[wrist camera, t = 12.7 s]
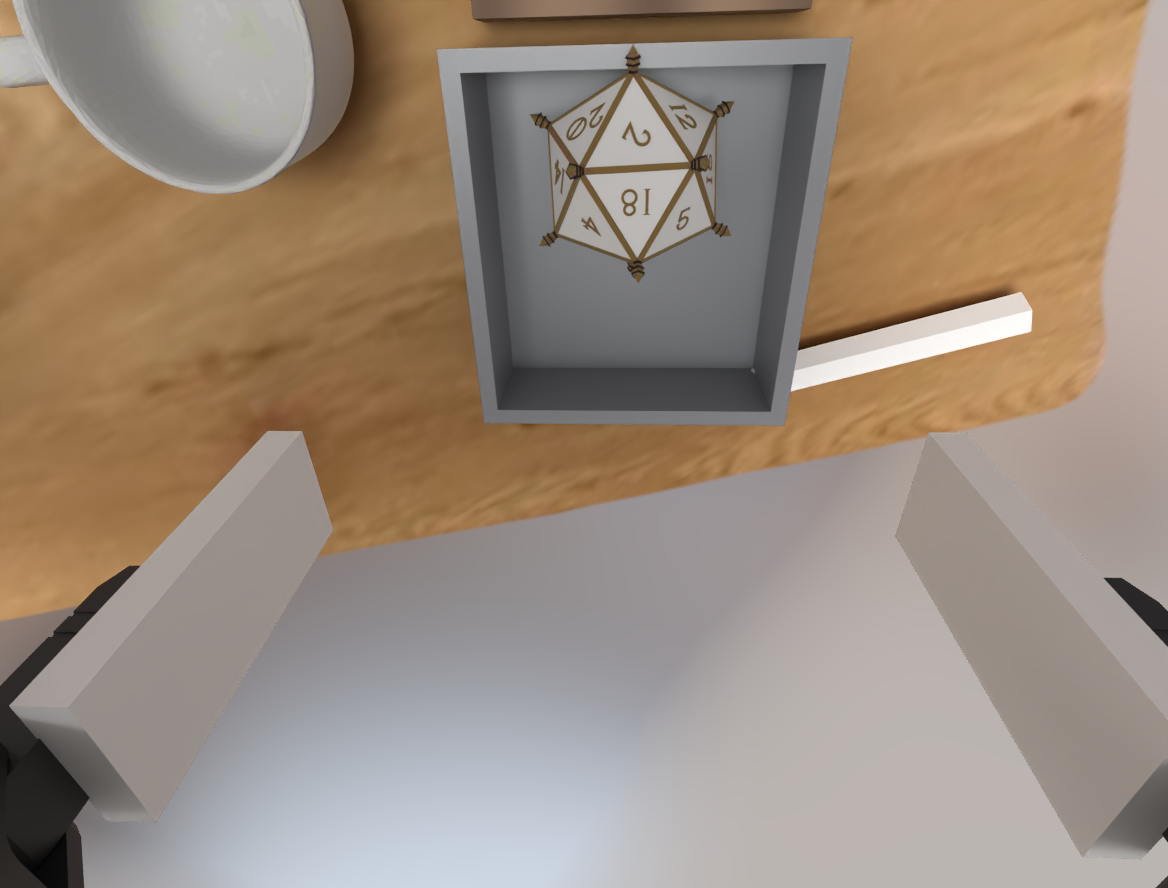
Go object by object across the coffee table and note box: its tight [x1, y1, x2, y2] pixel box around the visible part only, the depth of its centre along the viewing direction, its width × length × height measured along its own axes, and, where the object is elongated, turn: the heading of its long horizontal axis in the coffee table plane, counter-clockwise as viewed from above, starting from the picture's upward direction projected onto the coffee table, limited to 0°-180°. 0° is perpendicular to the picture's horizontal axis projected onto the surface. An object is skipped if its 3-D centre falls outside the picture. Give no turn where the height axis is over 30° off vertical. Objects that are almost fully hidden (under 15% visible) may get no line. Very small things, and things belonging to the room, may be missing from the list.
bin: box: [437, 37, 853, 426], centre depth 30 cm, size 16×17×6 cm
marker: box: [751, 292, 1032, 391], centre depth 34 cm, size 3×2×16 cm
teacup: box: [0, 0, 354, 194], centre depth 26 cm, size 14×11×8 cm
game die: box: [529, 45, 735, 283], centre depth 26 cm, size 9×8×10 cm
